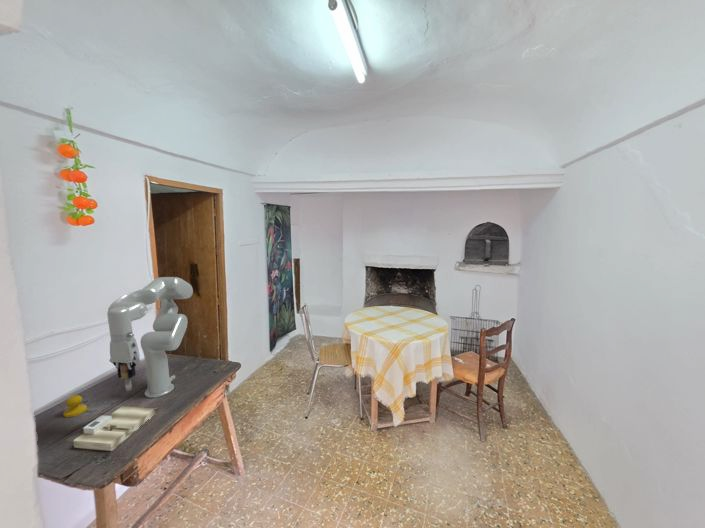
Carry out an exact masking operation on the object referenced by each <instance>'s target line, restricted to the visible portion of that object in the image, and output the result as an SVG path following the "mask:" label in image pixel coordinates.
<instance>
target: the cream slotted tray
mask: <svg viewBox="0 0 705 528" xmlns="http://www.w3.org/2000/svg"><path fill="white" fill-rule="evenodd" d="M155 412H156V411H155V408H153V407H150V408H149V407H139V406H138V407H136V406H124V405H121V406H120V407H119V408H118V409H116V410H114V411H113V412H112V413H110V414H109V415H108V416H111V417H112V422H110V423H109V424H108V425H106V426H105V427H103V428H102V429H101V430H99V431H98V432H97V433H95V434H85V433H84V432H83V433H82V434H80V435H79V436H77V437H76V438H75V439H74V440H72V441H73V447H74V449H75V448H77V449H85V450H86V449H87V450H88V449H89V450H96V451H97V450H98V451H108V452H109V451H110V452H112V451H113V450H115V449H116V448H117V447H118V446H119V445H121V444H122V443H123V442H124V441H125V440H127V439H128V438H129V437H130V436H132V435H133V434H134V433H135V432H136V431H137V430H138V429H140V428H141V427H142V426H143V425H144V424H146V423H147V422H148V421H149V420H151V419H152V418H153V417H154V416H155V415H156V413H155ZM154 414H155V415H154ZM153 415H154V416H153ZM152 416H153V417H152ZM151 417H152V418H151ZM148 419H149V420H148ZM147 420H148V421H147ZM146 421H147V422H146ZM145 422H146V423H145ZM141 425H142V426H141ZM140 426H141V427H140ZM139 427H140V428H139ZM134 431H135V432H134ZM133 432H134V433H133ZM132 433H133V434H132Z"/></svg>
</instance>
